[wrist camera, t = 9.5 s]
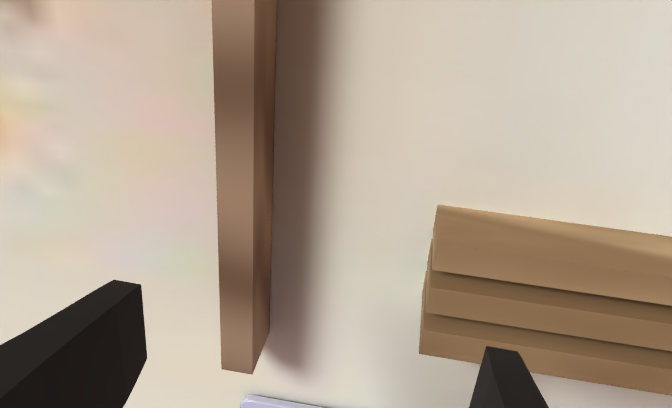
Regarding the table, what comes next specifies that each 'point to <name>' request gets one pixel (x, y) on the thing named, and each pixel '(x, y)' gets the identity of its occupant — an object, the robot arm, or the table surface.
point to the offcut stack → (550, 297)
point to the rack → (244, 172)
